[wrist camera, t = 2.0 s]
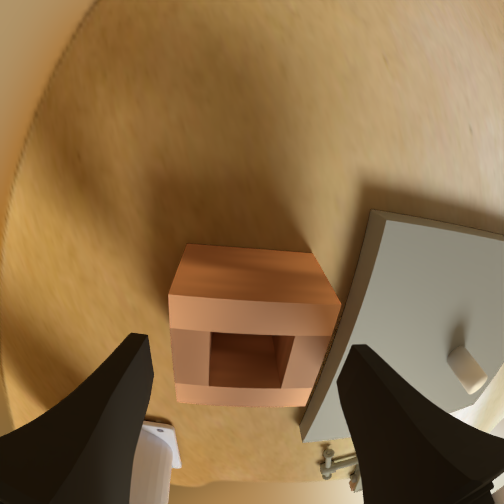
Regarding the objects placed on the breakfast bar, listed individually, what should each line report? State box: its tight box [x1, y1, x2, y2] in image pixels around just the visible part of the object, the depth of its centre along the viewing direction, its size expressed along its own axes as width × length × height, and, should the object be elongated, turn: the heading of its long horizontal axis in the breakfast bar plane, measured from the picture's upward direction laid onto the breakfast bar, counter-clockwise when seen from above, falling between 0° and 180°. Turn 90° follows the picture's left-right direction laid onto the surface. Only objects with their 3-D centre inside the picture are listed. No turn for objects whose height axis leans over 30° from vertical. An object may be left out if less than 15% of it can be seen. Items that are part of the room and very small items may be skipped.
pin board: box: [299, 209, 504, 443], centre depth 14 cm, size 18×16×4 cm
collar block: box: [168, 243, 342, 407], centre depth 12 cm, size 5×5×4 cm
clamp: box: [320, 449, 362, 493], centre depth 23 cm, size 15×2×10 cm
